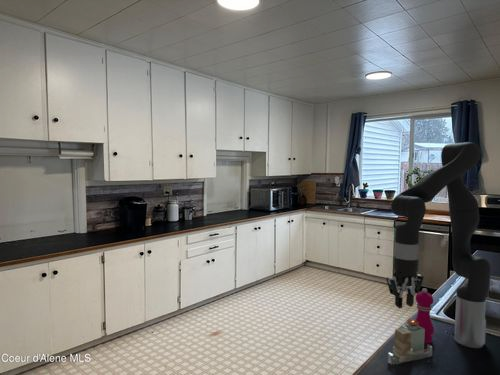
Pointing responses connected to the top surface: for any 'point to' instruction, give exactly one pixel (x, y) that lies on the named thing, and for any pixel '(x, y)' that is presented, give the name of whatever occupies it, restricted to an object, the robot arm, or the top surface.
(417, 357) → the rail
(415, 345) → the cabinet
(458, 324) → the robot arm
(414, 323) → the plunger
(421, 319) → the pepper mill
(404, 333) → the carriage
